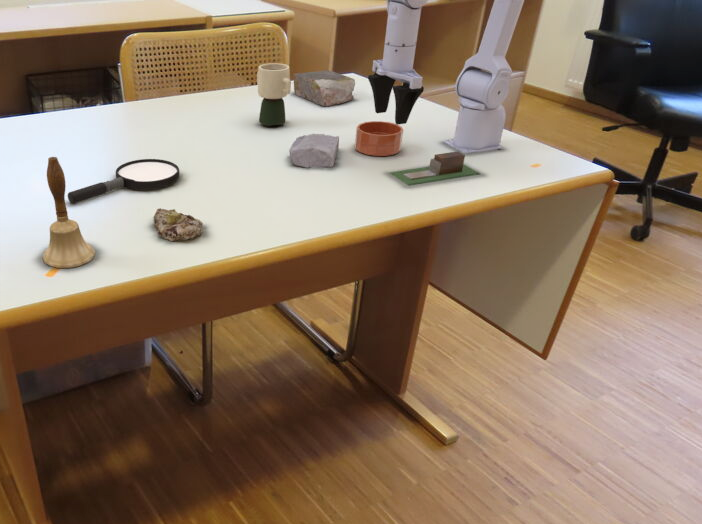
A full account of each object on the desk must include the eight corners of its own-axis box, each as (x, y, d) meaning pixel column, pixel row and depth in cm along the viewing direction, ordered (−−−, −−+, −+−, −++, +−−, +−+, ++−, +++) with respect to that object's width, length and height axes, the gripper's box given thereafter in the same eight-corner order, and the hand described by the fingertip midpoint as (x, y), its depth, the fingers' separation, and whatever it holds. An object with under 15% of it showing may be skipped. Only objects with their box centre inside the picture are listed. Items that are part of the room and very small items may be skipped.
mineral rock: (217, 219, 114) (179, 220, 109) (212, 244, 116) (175, 246, 111) (178, 202, 121) (141, 202, 116) (175, 226, 123) (138, 227, 118)
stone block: (289, 174, 141) (337, 168, 139) (285, 151, 139) (334, 144, 136) (296, 157, 151) (341, 150, 148) (292, 135, 148) (339, 128, 146)
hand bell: (32, 263, 107) (13, 164, 98) (60, 241, 114) (45, 146, 104) (78, 272, 105) (63, 171, 96) (104, 249, 111) (92, 152, 102)
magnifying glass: (53, 194, 130) (51, 183, 128) (153, 163, 143) (153, 152, 141) (90, 214, 122) (88, 202, 121) (192, 179, 135) (191, 168, 134)
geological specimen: (326, 68, 186) (360, 77, 174) (324, 92, 189) (357, 102, 178) (292, 72, 181) (325, 81, 170) (291, 96, 185) (323, 107, 173)
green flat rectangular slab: (458, 163, 141) (459, 161, 141) (480, 175, 136) (481, 173, 136) (389, 174, 137) (389, 172, 137) (408, 187, 131) (409, 185, 131)
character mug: (298, 126, 161) (302, 68, 154) (276, 133, 158) (279, 73, 150) (267, 116, 168) (269, 59, 160) (245, 122, 164) (246, 64, 157)
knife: (454, 167, 139) (457, 150, 137) (462, 171, 137) (465, 155, 135) (403, 175, 135) (405, 158, 133) (410, 180, 133) (413, 163, 131)
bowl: (384, 140, 153) (387, 119, 150) (408, 154, 146) (411, 132, 143) (346, 146, 150) (348, 124, 147) (368, 160, 143) (371, 137, 140)
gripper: (362, 37, 131) (354, 109, 139) (402, 53, 120) (392, 131, 128) (394, 34, 133) (385, 106, 141) (437, 50, 122) (424, 126, 130)
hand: (390, 117), depth 135 cm, fingers open, 7 cm apart
